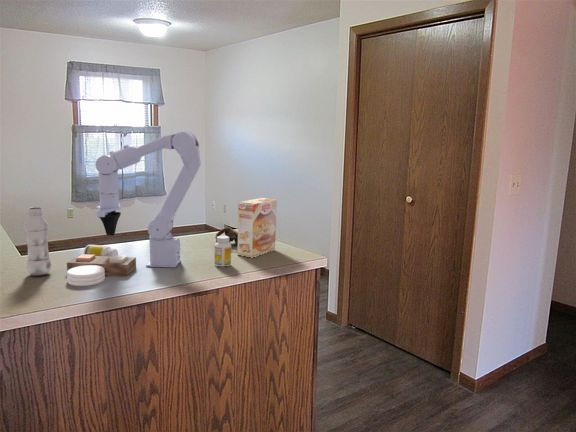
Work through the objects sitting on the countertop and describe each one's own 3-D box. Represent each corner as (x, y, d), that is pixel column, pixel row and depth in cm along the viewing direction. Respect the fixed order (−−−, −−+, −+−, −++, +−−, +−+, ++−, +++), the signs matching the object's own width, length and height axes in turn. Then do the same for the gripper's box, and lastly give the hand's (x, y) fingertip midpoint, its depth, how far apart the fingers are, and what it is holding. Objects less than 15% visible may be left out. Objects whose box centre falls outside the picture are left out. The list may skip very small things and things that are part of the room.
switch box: (136, 268, 146) (135, 257, 146) (127, 276, 138) (126, 264, 138) (79, 266, 146) (78, 255, 146) (67, 273, 138) (66, 262, 138)
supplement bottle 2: (214, 267, 149) (214, 238, 148) (214, 263, 155) (214, 235, 153) (231, 267, 150) (231, 238, 149) (230, 262, 156) (230, 235, 154)
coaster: (94, 273, 140) (93, 262, 140) (111, 281, 134) (111, 269, 133) (61, 281, 133) (60, 269, 132) (77, 289, 126) (77, 277, 126)
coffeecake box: (252, 259, 161) (253, 203, 157) (236, 255, 165) (237, 201, 161) (276, 250, 174) (277, 199, 170) (260, 247, 177) (261, 197, 174)
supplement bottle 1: (84, 263, 151) (111, 265, 149) (81, 247, 149) (109, 250, 147) (94, 257, 156) (120, 259, 154) (92, 242, 154) (118, 244, 152)
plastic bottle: (35, 279, 132) (30, 211, 129) (22, 275, 136) (17, 208, 132) (56, 274, 138) (52, 208, 134) (43, 269, 141) (39, 205, 138)
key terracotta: (95, 264, 144) (95, 254, 143) (90, 267, 140) (89, 258, 139) (82, 263, 144) (82, 254, 143) (76, 267, 140) (76, 257, 139)
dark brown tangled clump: (244, 250, 174) (235, 233, 171) (222, 260, 175) (212, 243, 171) (243, 235, 185) (234, 218, 181) (221, 244, 186) (212, 228, 182)
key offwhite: (127, 265, 144) (127, 255, 143) (122, 269, 140) (122, 259, 139) (114, 264, 144) (114, 255, 143) (109, 268, 140) (109, 259, 139)
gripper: (105, 189, 154) (107, 229, 156) (86, 196, 139) (88, 239, 142) (126, 190, 153) (127, 230, 156) (109, 196, 139) (111, 240, 142)
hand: (110, 235), depth 149 cm, fingers closed
